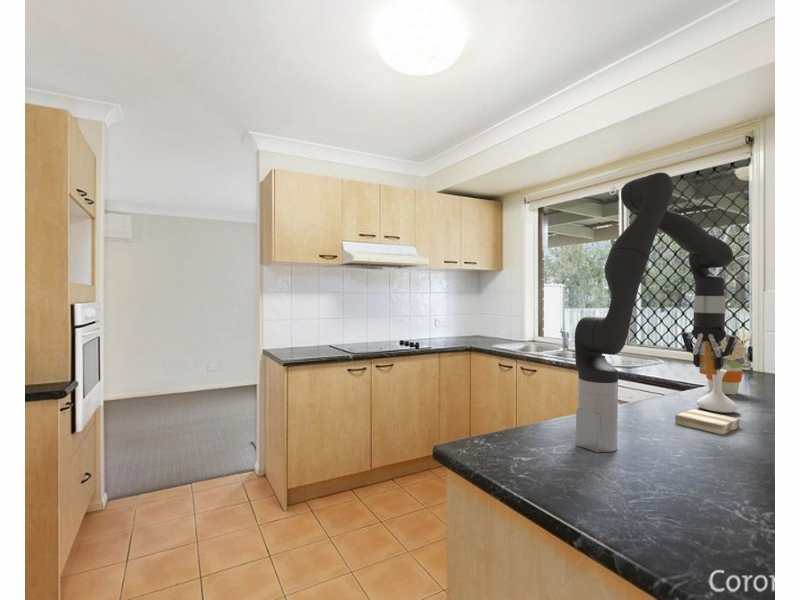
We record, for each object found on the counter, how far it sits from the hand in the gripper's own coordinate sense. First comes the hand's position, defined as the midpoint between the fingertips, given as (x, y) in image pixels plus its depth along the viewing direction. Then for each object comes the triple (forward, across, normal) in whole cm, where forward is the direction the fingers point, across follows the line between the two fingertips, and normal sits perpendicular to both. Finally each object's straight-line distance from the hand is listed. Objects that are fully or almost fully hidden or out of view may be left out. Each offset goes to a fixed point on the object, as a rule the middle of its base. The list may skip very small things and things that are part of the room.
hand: (708, 368), depth 123 cm
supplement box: (+2, 0, 0) cm, 2 cm away
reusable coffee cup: (+17, -15, +54) cm, 59 cm away
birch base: (+17, 0, 0) cm, 17 cm away
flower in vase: (+17, -4, +21) cm, 28 cm away
